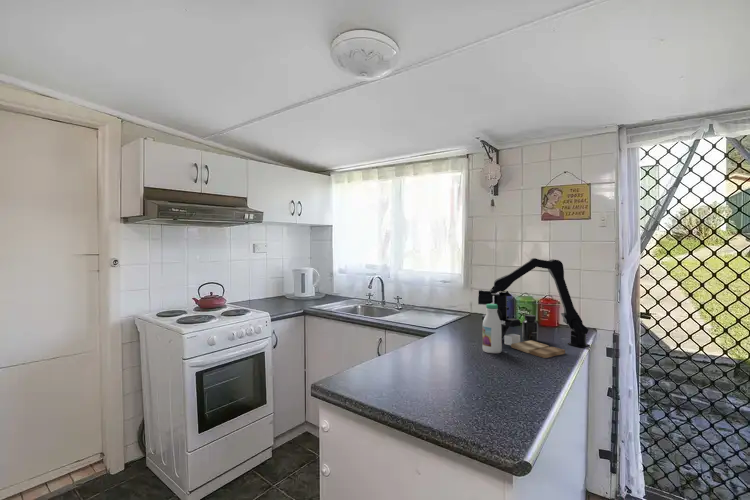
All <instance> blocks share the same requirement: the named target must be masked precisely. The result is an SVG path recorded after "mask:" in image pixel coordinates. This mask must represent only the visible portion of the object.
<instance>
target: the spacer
mask: <svg viewBox="0 0 750 500" xmlns="http://www.w3.org/2000/svg"><path fill="white" fill-rule="evenodd" d="M503 340H504V345H507V346H510V347H511V344H514V343H519V342H521V335H519V334H515V333H510V334H505V335H504V337H503Z"/></svg>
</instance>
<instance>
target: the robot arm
mask: <svg viewBox="0 0 750 500" xmlns="http://www.w3.org/2000/svg"><path fill="white" fill-rule="evenodd" d="M535 268H541V269H545V270H546V269H547V271H548V273H549V275H550V276H551V277H552V279H553V281H554V284H555V286H556V290H557V292H558V295H559V298H560V301H561V304H562V307H563V312H561V313H560V315H561V317H562V319H563V320H562V321H563V323H564V324H566V325H567V326H568V327H569V329H570V342H567V345H570V346H573V347H577V348H581V349H582V348H586V347H591V346H590V344H588V343H587V334H588V333H589V328H587V326H586V325H584V324H583V322H584V321H583V320H582V318H581V316H580V315H579V313H578V311H577V310H576V309H575V306H574V304H573V301H572V298H571V294H570V292H569V289H568V286H567V283H566V280H565V271H564V265H563V262H562V261H561V260H559V259H553V258H552V259H549V260H545V259H539V258H534V257H533V258H531V259H530V260H529V261H527V262H526V263H525V262H524V264H523V265H521V266H519V267H517V268H516V269H515V270H513V271H511V273H509V274H506V275H504V276H501V277H499V278H496V279H495V280H494V282H493V286H492V288H490V290H482V289H481V290H478V296H477V298H478V299H477V300H478V301H477V302H478V304H477V305H483V306H484V305H485V306H486V304H497V305H498V308H497V309H498V310H497V314H498V316H499V319H500V321H501V330H502V339H504V335H506V333H507V331H508V329H509V328H510V327H512V328H514V327H520V326H521V321H520V319H517V318H513V317H512V318H510V316H509V315H508V311H509V309H510V308H509V307H508V297H512V294H511V293H509V291H508V290H507V289H508V288H509V287H510V286H511V285H512V284H513V283H514V282H516V281H517V280H518V279H520V278H521V277H523V276H524V275H526V274H527V273H529V272H530V271H532V270H533V269H535ZM485 316H486V313H484V314H483V315H482V316H481V317H482V318H481V320H482V321H483V320H484V318H485Z"/></svg>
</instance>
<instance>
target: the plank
mask: <svg viewBox="0 0 750 500" xmlns="http://www.w3.org/2000/svg"><path fill="white" fill-rule="evenodd" d="M547 347H550V346H549V345H548V344H545V343H541V342H538V341H537V342H535V341H532V340H530V341H520V342H519V343H514V344H511V346H510V348H512V349H514V350H518V351H520V352H524V353H526V354H530V352H532V350H537V349H542V348H547Z"/></svg>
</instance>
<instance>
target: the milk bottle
mask: <svg viewBox="0 0 750 500" xmlns="http://www.w3.org/2000/svg"><path fill="white" fill-rule="evenodd" d="M485 307H486V308H485V310H486V313H485V314H486V316H485V318H484V320H482V351H483V352H485V353H488V354H500V353H502V351H503V350H502V347H503V345H502V342H503V341H502V340H503V338H502V330H501V321H500V319H499V316H498V314H497V310H498V309H497V308H498V305H497V304H494V303H490V304H486V305H485Z"/></svg>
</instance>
